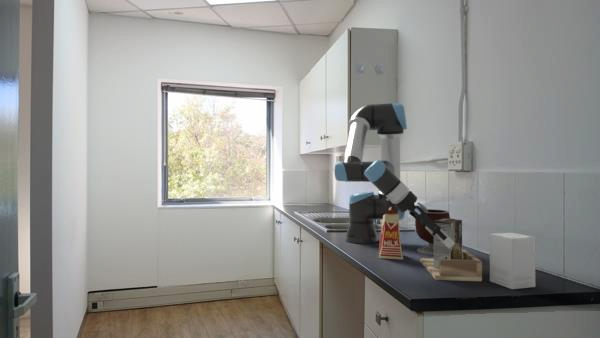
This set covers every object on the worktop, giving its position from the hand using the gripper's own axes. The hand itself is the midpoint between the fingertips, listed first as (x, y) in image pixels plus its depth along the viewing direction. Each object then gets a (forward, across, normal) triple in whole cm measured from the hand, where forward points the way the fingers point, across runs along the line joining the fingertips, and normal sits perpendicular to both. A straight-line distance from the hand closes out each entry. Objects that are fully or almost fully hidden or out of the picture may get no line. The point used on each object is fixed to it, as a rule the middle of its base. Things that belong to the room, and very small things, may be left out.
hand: (446, 241), depth 131 cm
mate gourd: (+9, -30, -6) cm, 32 cm away
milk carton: (-4, -19, -18) cm, 27 cm away
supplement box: (+18, +14, +4) cm, 23 cm away
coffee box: (+7, 0, -6) cm, 9 cm away
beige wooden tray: (+7, 0, -6) cm, 10 cm away
